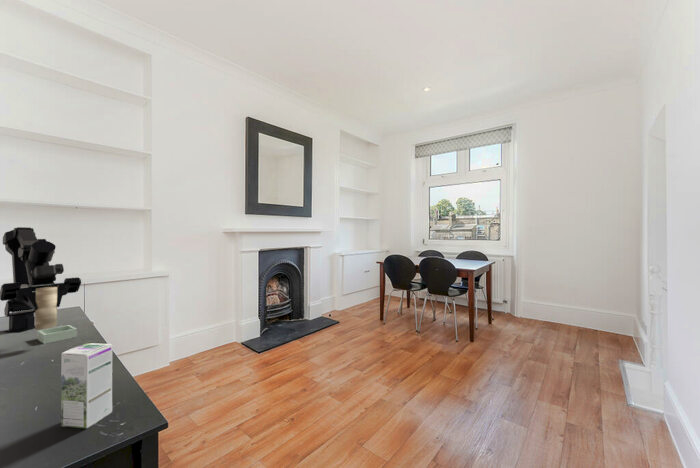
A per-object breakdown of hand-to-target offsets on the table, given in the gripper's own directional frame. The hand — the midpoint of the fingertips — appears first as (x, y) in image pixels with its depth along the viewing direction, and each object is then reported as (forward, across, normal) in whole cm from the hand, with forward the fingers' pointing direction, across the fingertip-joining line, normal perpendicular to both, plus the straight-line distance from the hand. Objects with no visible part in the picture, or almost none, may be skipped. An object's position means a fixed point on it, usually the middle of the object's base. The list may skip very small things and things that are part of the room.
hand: (47, 307), depth 97 cm
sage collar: (+2, +5, +17) cm, 18 cm away
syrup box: (+52, -6, -33) cm, 62 cm away
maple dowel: (+4, 0, +6) cm, 7 cm away
